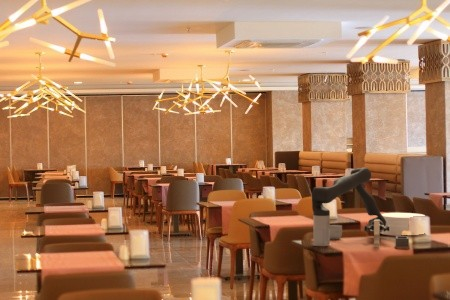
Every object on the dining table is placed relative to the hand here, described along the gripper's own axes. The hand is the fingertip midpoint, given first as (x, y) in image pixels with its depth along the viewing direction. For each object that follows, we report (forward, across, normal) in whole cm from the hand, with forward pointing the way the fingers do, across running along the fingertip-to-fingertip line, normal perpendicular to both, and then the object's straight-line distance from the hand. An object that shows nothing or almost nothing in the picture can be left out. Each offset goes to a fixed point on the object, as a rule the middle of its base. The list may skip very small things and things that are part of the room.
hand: (376, 229), depth 520 cm
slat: (+10, 0, +8) cm, 13 cm away
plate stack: (-54, +16, +9) cm, 57 cm away
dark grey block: (+10, +14, +8) cm, 19 cm away
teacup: (-21, -25, +9) cm, 34 cm away
